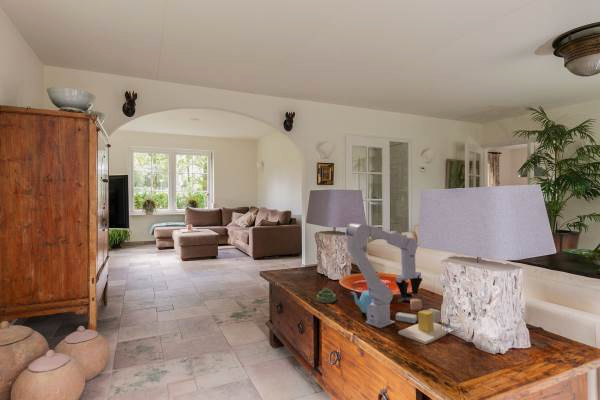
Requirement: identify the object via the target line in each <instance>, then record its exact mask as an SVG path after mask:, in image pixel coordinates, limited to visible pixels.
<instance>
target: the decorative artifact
mask: <svg viewBox="0 0 600 400" xmlns="http://www.w3.org/2000/svg"><path fill="white" fill-rule="evenodd" d="M316 301H317V302H318V303H324V304H330V302H331V303H334V301H335V302H336V301H337V294H336V293H333V291H332V289H329V288H328V287H325V288H322V290H321V291H318V293H317V294H316Z"/></svg>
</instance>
